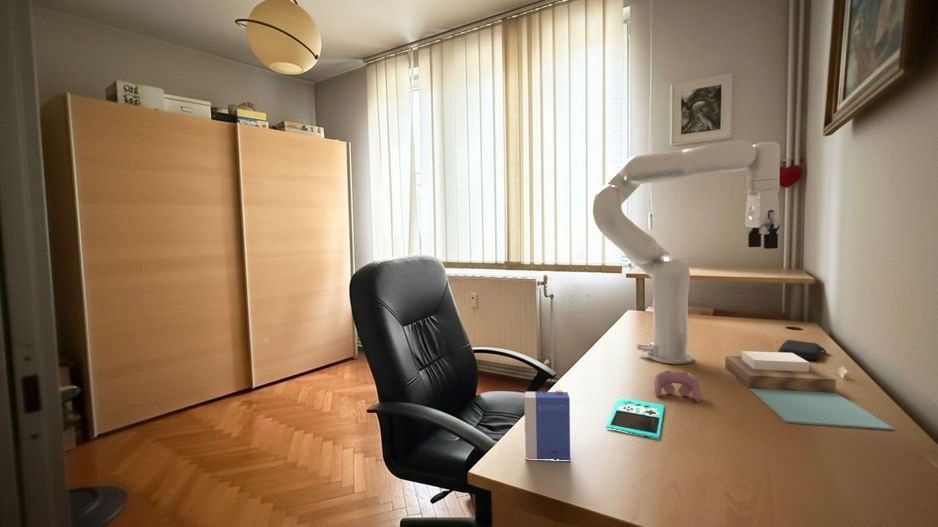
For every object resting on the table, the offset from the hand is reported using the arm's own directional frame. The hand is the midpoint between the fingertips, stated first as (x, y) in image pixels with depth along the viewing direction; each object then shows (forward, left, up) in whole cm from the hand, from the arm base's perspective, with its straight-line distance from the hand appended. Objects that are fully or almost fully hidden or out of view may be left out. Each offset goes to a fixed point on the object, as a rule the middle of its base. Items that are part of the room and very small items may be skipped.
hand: (762, 247), depth 117 cm
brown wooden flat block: (-2, -14, -34) cm, 37 cm away
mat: (-2, -31, -34) cm, 46 cm away
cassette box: (-2, -13, -30) cm, 33 cm away
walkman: (-58, -62, -34) cm, 92 cm away
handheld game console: (-40, -43, -35) cm, 68 cm away
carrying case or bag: (+16, +11, -34) cm, 39 cm away
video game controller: (-29, -29, -34) cm, 54 cm away
